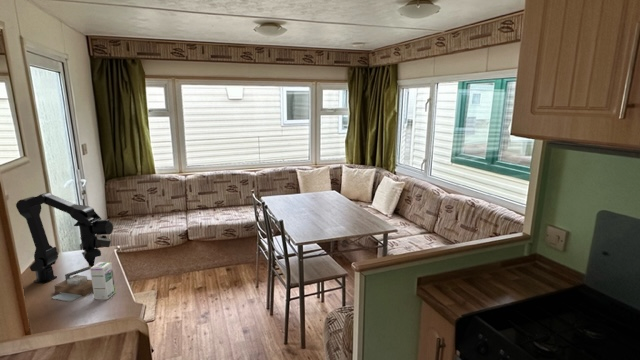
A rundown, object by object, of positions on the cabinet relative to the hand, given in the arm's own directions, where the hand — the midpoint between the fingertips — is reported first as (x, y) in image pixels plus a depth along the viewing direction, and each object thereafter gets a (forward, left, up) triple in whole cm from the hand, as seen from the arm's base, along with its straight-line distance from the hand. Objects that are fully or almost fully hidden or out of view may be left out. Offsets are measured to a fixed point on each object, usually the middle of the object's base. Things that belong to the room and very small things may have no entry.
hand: (92, 267), depth 161 cm
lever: (-3, -4, -4) cm, 6 cm away
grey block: (0, -9, -4) cm, 9 cm away
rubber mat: (+1, -15, -7) cm, 17 cm away
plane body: (0, -9, -7) cm, 11 cm away
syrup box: (+16, -11, -7) cm, 21 cm away
